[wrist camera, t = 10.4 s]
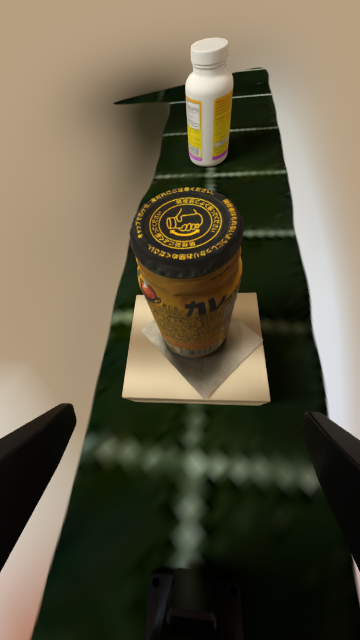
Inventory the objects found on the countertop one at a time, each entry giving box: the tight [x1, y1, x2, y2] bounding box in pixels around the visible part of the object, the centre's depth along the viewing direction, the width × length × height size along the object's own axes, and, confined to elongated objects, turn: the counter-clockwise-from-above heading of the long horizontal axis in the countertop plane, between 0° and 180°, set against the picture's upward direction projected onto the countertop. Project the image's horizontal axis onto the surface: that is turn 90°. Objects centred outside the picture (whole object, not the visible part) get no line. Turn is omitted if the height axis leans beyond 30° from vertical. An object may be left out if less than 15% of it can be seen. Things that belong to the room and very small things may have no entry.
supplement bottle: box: [186, 38, 233, 167], centre depth 33 cm, size 7×7×13 cm
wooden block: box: [122, 293, 270, 406], centre depth 22 cm, size 10×12×4 cm
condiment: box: [130, 187, 263, 400], centre depth 15 cm, size 7×8×12 cm
